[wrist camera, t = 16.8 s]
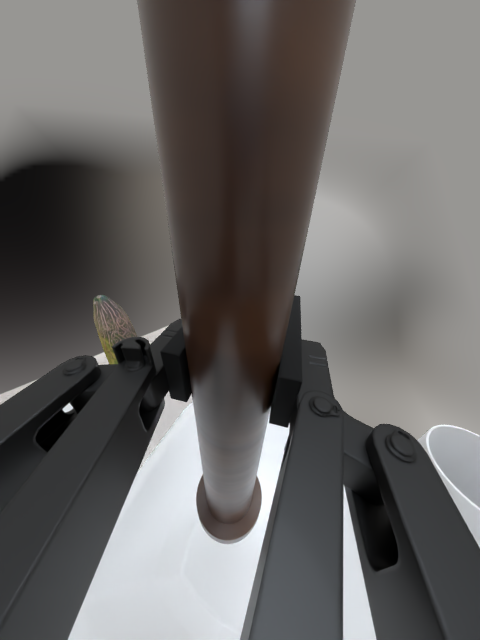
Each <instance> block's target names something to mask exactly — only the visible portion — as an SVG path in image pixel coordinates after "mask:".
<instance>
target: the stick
mask: <svg viewBox="0 0 480 640" xmlns="http://www.w3.org/2000/svg"><path fill="white" fill-rule="evenodd" d="M137 2H138V9H139V17H140V24H141V30H142V38H143V45H144V52H145V59H146V67H147V74H148V81H149V88H150V96H151V103H152V110H153V117H154V124H155V131H156V139H157V146H158V153H159V161H160V168H161V175H162V182H163V189H164V197H165V204H166V210H167V218H168V225H169V232H170V239H171V247H172V253H173V262H174V268H175V275H176V283H177V290H178V298H179V304H180V311H181V319H182V326H183V334H184V341H185V348H186V355H187V362H188V370H189V377H190V384H191V391H192V398H193V406H194V413H195V420H196V427H197V434H198V442H199V449H200V456H201V463H202V470H203V475H202V477H201V479H200V481H199V484H198V488H197V493H196V506H197V512H198V516H199V520H200V523H201V525H202V527H203V529H204V530H205V532H206V533H207V534H208V535H209V536H210V537H211V538H212V539H213V540H215V541H217V542H219V543H222V544H233V543H237V542H239V541H241V540H242V539H244V538H245V537H246V536H247V535H248V534H249V533H250V532H251V531H252V529H253V528H254V526H255V524H256V522H257V519H258V516H259V513H260V509H261V503H262V492H261V486H260V482H259V479H258V477H257V471H258V466H259V461H260V457H261V452H262V447H263V442H264V437H265V433H266V428H267V423H268V418H269V414H270V409H271V404H272V399H273V394H274V389H275V384H276V380H277V375H278V370H279V365H280V361H281V356H282V351H283V347H284V342H285V337H286V332H287V328H288V323H289V318H290V313H291V308H292V304H293V299H294V293H295V289H296V285H297V279H298V275H299V270H300V265H301V261H302V256H303V251H304V246H305V242H306V237H307V232H308V227H309V222H310V217H311V213H312V208H313V203H314V199H315V194H316V189H317V184H318V179H319V175H320V170H321V165H322V160H323V155H324V151H325V146H326V141H327V136H328V132H329V127H330V122H331V117H332V112H333V108H334V103H335V98H336V93H337V89H338V84H339V79H340V74H341V70H342V65H343V60H344V55H345V50H346V46H347V41H348V36H349V31H350V27H351V21H352V17H353V12H354V7H355V3H356V0H137Z"/></svg>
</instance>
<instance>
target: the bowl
mask: <svg viewBox="0 0 480 640" xmlns="http://www.w3.org/2000/svg"><path fill="white" fill-rule="evenodd" d="M270 410H271V409H270ZM269 418H270V414H269ZM269 418H268V423H267V428H266V433H265V437H264V442H263V447H262V452H261V457H260V461H259V466H258V471H257V477H258V479H259V482H260V486H261V492H262V503H261V509H260V513H259V516H258V519H257V522H256V524H255V526H254V528H253V529H252V531H251V532H250V533H249V534H248V535H247V536H246V537H245V538H244V539H242V540H241V541H239V542H237V543H233V544H222V543H219V542H217V541H215V540H213V539H212V538H211V537H210V536H209V535H208V534H207V533H206V532H205V530H204V529H203V527H202V525H201V523H200V520H199V516H198V512H197V506H196V493H197V488H198V484H199V481H200V479H201V477H202V475H203V470H202V463H201V456H200V449H199V442H198V434H197V427H196V420H195V413H194V406H193V402H192V403H191V404H190V405H189V406H187V407H186V408H185V409H184V411H183V412H182V413H181V415H180V416H179V417H178V419H177V420H176V421H175V423H174V424H173V425H172V427H171V428H170V429H169V431H168V432H167V433H166V435H165V436H164V437H163V439H162V440H161V441H160V443H159V444H158V445H157V447H156V448H155V449H154V451H153V452H152V453H151V455H150V456H149V458H148V459H147V460H146V462H145V463H144V464H143V466H142V467H141V469H140V470H139V471H138V473H137V474H136V476H135V479H134V481H133V483H132V486H131V488H130V491H129V493H128V495H127V498H126V500H125V503H124V505H123V508H122V510H121V512H120V515H119V517H118V520H117V522H116V524H115V527H114V529H113V532H112V534H111V536H110V539H109V541H108V544H107V546H106V548H105V551H104V553H103V556H102V558H101V560H100V563H99V565H98V568H97V570H96V573H95V575H94V577H93V580H92V582H91V585H90V587H89V589H88V592H87V594H86V597H85V599H84V601H83V604H82V606H81V609H80V611H79V613H78V616H77V618H76V621H75V623H74V626H73V628H72V630H71V633H70V635H69V638H68V640H240V637H241V633H242V629H243V624H244V620H245V616H246V612H247V607H248V603H249V599H250V595H251V591H252V586H253V582H254V578H255V574H256V569H257V565H258V561H259V557H260V552H261V548H262V544H263V540H264V535H265V531H266V527H267V523H268V519H269V514H270V510H271V506H272V502H273V497H274V493H275V489H276V485H277V480H278V476H279V472H280V468H281V463H282V459H283V455H284V448H285V445H286V442H287V439H288V436H289V428H290V423H289V426H288V428H286V427H282V426H278V425H274V424H270V423H269ZM343 640H376V635H375V630H374V625H373V621H372V616H371V611H370V606H369V602H368V597H367V592H366V587H365V583H364V578H363V573H362V568H361V563H360V559H359V554H358V549H357V544H356V540H355V535H354V530H353V525H352V521H351V516H350V511H349V506H348V501H347V497H346V492H345V487H344V499H343Z"/></svg>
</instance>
